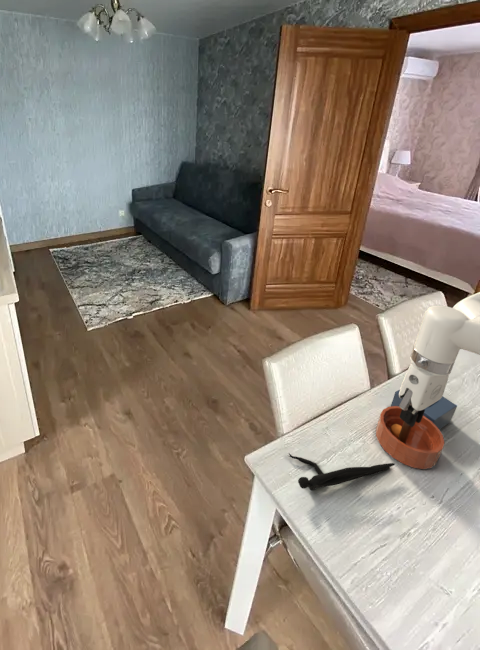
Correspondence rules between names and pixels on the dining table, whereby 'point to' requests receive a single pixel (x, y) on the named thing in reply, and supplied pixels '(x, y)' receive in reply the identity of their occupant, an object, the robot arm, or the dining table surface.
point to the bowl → (410, 440)
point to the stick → (405, 432)
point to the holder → (434, 410)
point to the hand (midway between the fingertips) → (409, 419)
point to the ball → (395, 430)
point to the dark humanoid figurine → (337, 474)
